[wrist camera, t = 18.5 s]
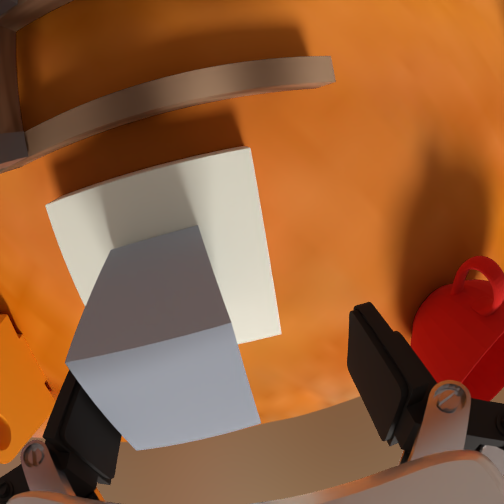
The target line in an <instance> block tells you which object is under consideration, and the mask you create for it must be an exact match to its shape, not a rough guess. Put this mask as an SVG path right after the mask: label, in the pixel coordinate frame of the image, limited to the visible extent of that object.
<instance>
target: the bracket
mask: <svg viewBox="0 0 504 504" xmlns="http://www.w3.org/2000/svg"><path fill="white" fill-rule="evenodd" d="M46 379H47V378H46V376H45V375H44V373H43V371H42V370H41V368H40V366H39V364H38V363H37V361H36V359H35V357H34V355H33V353H32V351H31V350H30V348H29V346H28V344H27V342H26V340H25V338H24V336H23V334H16V332H15V329H14V327H13V325H12V323H11V321H10V319H9V316H8V314H0V463H1V464H6V463H9V462H10V461H12V459H14V457H15V456H16V455H17V454H18V453H19V451H20V450H21V449H22V447H23V446H24V445H25V444H26V443H27V441H28V440H29V439H30V438H31V437H32V436H33V434H34V433H35V432H36V431H37V430H38V428H39V427H40V426H41V425H42V424H43V422H44V421H45V420H46V419H47V418H48V417H49V415H50V414H51V412H52V409H53V406H54V404H55V399H54V398H53V396H52V395H51V393H50V392H49V390H48V389H47V387H46V386H45V381H46Z"/></svg>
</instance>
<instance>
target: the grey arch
mask: <svg viewBox="0 0 504 504" xmlns="http://www.w3.org/2000/svg"><path fill="white" fill-rule="evenodd" d="M17 3H18V0H0V16H1V15H2V14H3V13H5V12H6V11H8V10H9V9H11V8H12V7H14V6H15V5H17ZM27 157H28V152H27V147H26V142H25V137H24V131H21V132H11V133H3V134H0V169H2V168H5V167H9V166H11V165H13V164H15V163H17V162H19V161H21V160H23V159H25V158H27Z"/></svg>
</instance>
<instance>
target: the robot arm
mask: <svg viewBox="0 0 504 504" xmlns="http://www.w3.org/2000/svg"><path fill="white" fill-rule="evenodd" d="M347 366H348V370H349V373H350V375H351V377H352V379H353V381H354V383H355V385H356V387H357V389H358V391H359V393H360V395H361V397H362V400H363V401H364V404H365V406H366V408H367V410H368V412H369V414H370V416H371V418H372V421H373V423H374V425H375V427H376V429H377V431H378V434H379V436H380V438H381V439H382V441H386V440H387V442H388V444H389V446H392V445H394V444H397V443H399V445H400V447H401V449H403V453H402V455H401V458H400V461H399V463H398V466H395V467H393V468H390V469H387V470H384V471H381V472H379V473H376V474H373V475H370V476H367V477H365V478H361V479H358V480H355V481H352V482H349V483H346V484H342V485H339V486H335V487H331V488H328V489H324V490H321V491H316V492H312V493H308V494H304V495H299V496H295V497H290V498H284V499H279V500H273V501H267V502H260V503H252V504H504V477H503V476H504V404H502V403H496V402H490V401H485V400H480V399H475V398H471V395H470V392H469V390H468V389H467V388H466V386H465V385H463V384H462V383H460V382H458V381H454V380H445V381H441V382H439V383H437V382H436V381H435V379H434V378H433V376H432V375H431V374H430V372H429V371H428V369H427V368H426V367H425V365H424V364H423V363H422V361H421V360H420V358H419V357H418V356H417V354H416V353H415V352H414V350H413V349H412V348H411V346H410V345H409V344H408V342H407V341H406V340H405V338H404V337H403V336H402V335H401V334H400V333H399V332H398V331H394V332H393V330H392V329H391V328H390V326H389V325H388V324H387V322H386V321H385V320H384V319H383V317H382V316H381V315H380V313H379V312H378V311H377V309H376V308H375V307H374V306H373V304H372V303H371V302H367V303H364V304H360V305H356V306H354V310H353V311H350V314H349V339H348V357H347ZM43 438H44V439H46V441H45V443H44V442H42V441H40V440H32V441H30V442H28V443H27V444H26V445H25V446H24V448H23V449H22V452H21V456H20V459H21V465H19V466H18V467H16V468H15V469H13V470H12V471H10V472H9V473H7V474H5V475H4V476H2V477H1V478H0V504H119V503H112V502H105V500H104V499H103V497H102V495H101V494H100V492H99V491H98V489H97V487H96V485H97V482H98V483H100V484H107V485H110V484H111V479H112V478H114V475H115V469H116V463H117V457H118V452H119V446H120V441H121V434H120V433H119V431H118V430H117V429H116V428H115V427H114V426H113V425H112V424H111V422H110V421H109V420H108V419H107V418H106V417H105V415H104V414H103V413H102V412H101V411H100V409H99V408H98V407H97V406H96V404H95V403H94V402H93V401H92V399H91V398H90V397H89V395H88V394H87V393H86V391H85V390H84V389H83V387H82V386H81V385H80V383H79V382H78V381H77V379H76V378H75V376H74V375H73V374H72V372H71V371H70V370H69V372H68V374H67V376H66V379H65V381H64V383H63V386H62V388H61V390H60V393H59V395H58V398H57V400H56V402H55V405H54V407H53V410H52V413H51V415H50V418H49V420H48V423H47V426H46V429H45V431H44V434H43Z"/></svg>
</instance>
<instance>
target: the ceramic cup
mask: <svg viewBox="0 0 504 504" xmlns="http://www.w3.org/2000/svg"><path fill="white" fill-rule="evenodd" d="M470 269H475V270H478V271H480V272H481V273H482V274H484V275H485V276H486V278H487V279H488V280H489V281H485V280H476V279H473V280H465V279H466V276H467V274H468V271H469V270H470ZM412 331H413V332H412V337H411V348H412V349H413V350H414V352H415V353H416V354H417V356H418V357H419V358H420V360H421V361H422V363H423V364H424V365H425V367H426V368H427V369H428V371H429V372H430V374H431V375H432V376H433V378H434V379H435V381H436V382H437V383H439V382H441V381H445V380H454V381H458V382H460V383H462V384H463V385H465V386H466V388H467V389H468V390H469V392H470V395H471V398H475V399H480V400H485V401H490V400H492V399H493V398H494V397H495V396H496V395H497V394H498V393H499V391H500V390H501V389H502V388H503V387H504V273H503V271H502V270H501V268H500V267H499V265H498V264H497V263H496V262H494V261H493V260H492V259H490V258H488V257H484V256H475V257H472V258H470V259H468V260H466V261H465V262H464V263H463V264H462V265H461V266H460V268H459V269H458V271H457V273H456V275H455V278H454V281H453V283H452V284H450V285H444V286H442V287H440V288H438V289H436V290H435V291H434V292H432V293H431V294H430V295H429V296H428V297H427V298H426V299H425V301H424V302H423V303H422V305H421V306H420V308H419V309H418V311H417V313H416V315H415V318H414V321H413V326H412Z"/></svg>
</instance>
